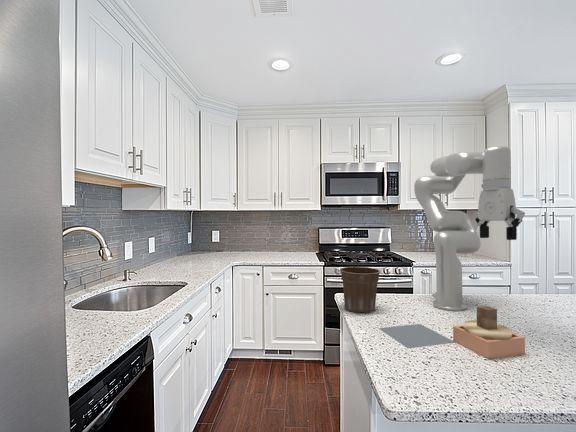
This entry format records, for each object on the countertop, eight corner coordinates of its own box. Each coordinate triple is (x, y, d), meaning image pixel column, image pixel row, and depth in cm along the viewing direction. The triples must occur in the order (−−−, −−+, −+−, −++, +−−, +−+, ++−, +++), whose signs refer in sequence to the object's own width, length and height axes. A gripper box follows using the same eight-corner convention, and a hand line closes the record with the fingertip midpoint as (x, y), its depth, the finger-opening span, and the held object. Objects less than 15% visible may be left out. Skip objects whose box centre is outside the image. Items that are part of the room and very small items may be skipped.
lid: (453, 326, 90) (453, 303, 90) (486, 322, 93) (485, 300, 93) (487, 341, 79) (487, 315, 79) (523, 337, 81) (523, 312, 81)
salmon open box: (453, 342, 90) (453, 326, 90) (486, 338, 93) (486, 322, 93) (488, 361, 79) (488, 342, 79) (525, 356, 81) (524, 337, 81)
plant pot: (387, 308, 125) (387, 269, 125) (369, 318, 113) (369, 274, 113) (352, 301, 136) (352, 265, 136) (332, 309, 124) (332, 270, 124)
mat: (378, 330, 101) (378, 328, 101) (420, 325, 105) (420, 323, 105) (407, 350, 86) (407, 348, 86) (455, 344, 89) (455, 342, 89)
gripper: (465, 188, 106) (466, 237, 105) (512, 182, 89) (513, 241, 89) (483, 188, 107) (483, 236, 107) (533, 183, 90) (533, 240, 90)
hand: (497, 238), depth 98 cm, fingers open, 9 cm apart
